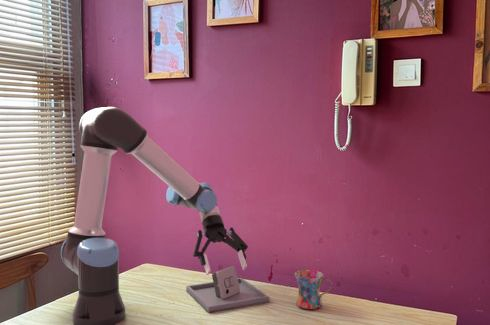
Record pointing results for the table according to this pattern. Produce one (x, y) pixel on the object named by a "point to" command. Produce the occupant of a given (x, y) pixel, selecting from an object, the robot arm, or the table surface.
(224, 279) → the electrical switch
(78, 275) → the robot arm
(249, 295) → the grey square tray
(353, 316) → the table surface
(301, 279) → the mug
